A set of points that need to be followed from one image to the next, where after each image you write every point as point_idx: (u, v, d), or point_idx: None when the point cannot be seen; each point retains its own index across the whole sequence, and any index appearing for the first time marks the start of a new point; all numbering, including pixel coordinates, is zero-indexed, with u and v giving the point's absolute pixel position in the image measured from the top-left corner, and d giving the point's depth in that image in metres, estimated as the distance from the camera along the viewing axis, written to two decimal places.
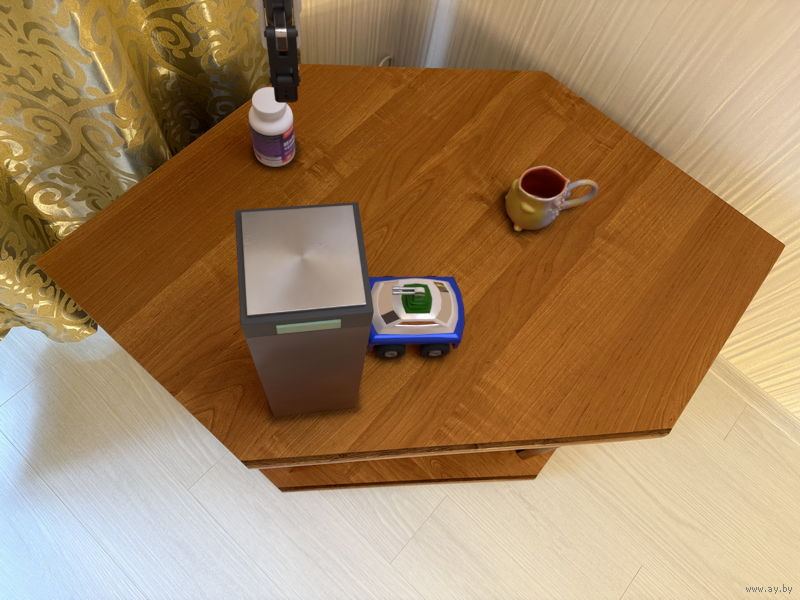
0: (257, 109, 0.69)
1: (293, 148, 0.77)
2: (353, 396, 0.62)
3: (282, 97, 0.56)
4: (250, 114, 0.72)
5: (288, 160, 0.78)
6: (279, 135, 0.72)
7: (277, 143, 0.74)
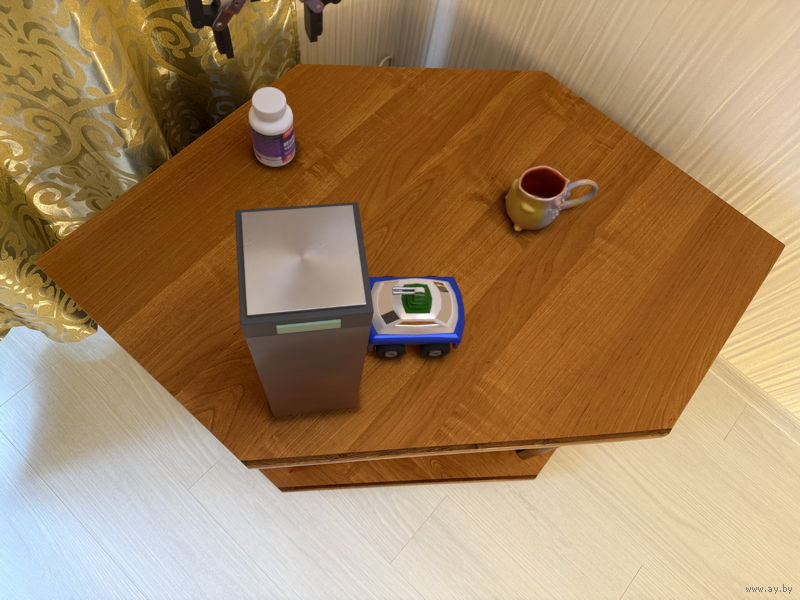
0: (257, 109, 0.69)
1: (293, 148, 0.77)
2: (353, 396, 0.62)
3: (215, 40, 0.58)
4: (250, 114, 0.72)
5: (288, 160, 0.78)
6: (279, 135, 0.72)
7: (277, 143, 0.74)
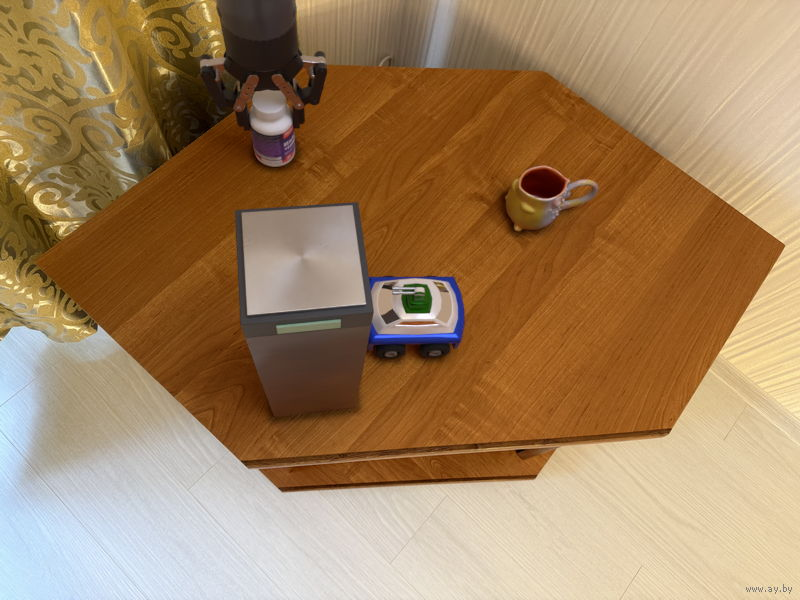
0: (257, 109, 0.69)
1: (293, 148, 0.77)
2: (353, 396, 0.62)
3: None
4: (250, 114, 0.72)
5: (288, 160, 0.78)
6: (279, 135, 0.72)
7: (277, 143, 0.74)
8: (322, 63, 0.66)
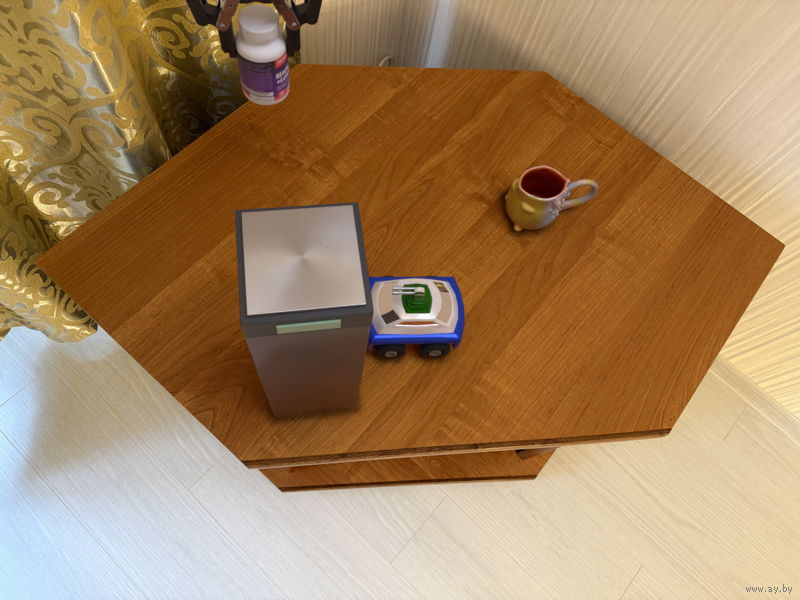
0: (244, 28, 0.59)
1: (287, 83, 0.67)
2: (353, 396, 0.62)
3: None
4: (236, 37, 0.61)
5: (281, 98, 0.67)
6: (270, 63, 0.62)
7: (268, 74, 0.63)
8: None
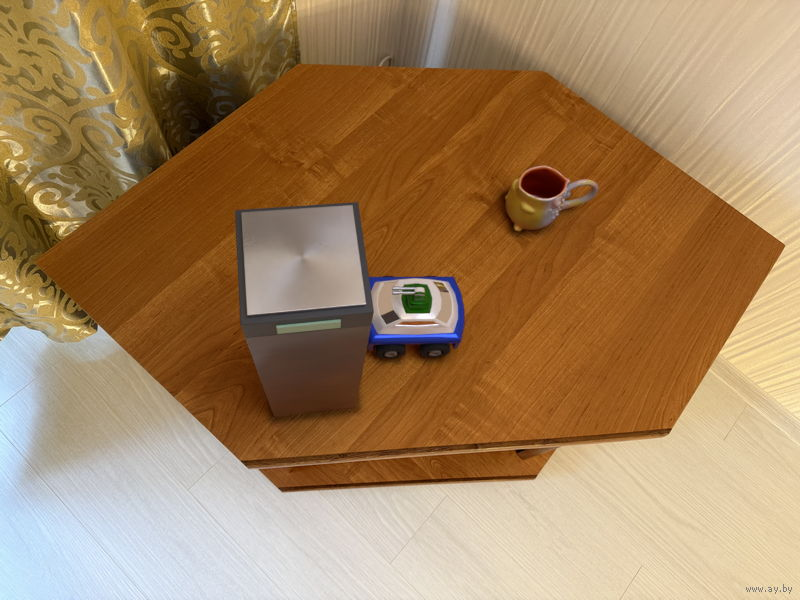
0: None
1: None
2: (353, 396, 0.62)
3: None
4: None
5: None
6: None
7: None
8: None
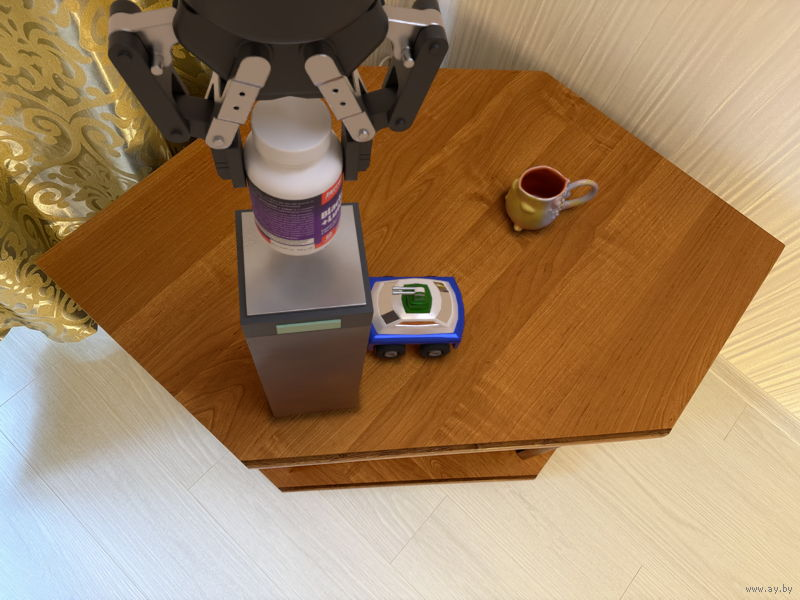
0: (263, 142, 0.29)
1: (338, 218, 0.36)
2: (353, 396, 0.62)
3: None
4: (247, 151, 0.31)
5: (327, 242, 0.37)
6: (313, 199, 0.32)
7: (308, 215, 0.33)
8: (437, 27, 0.25)
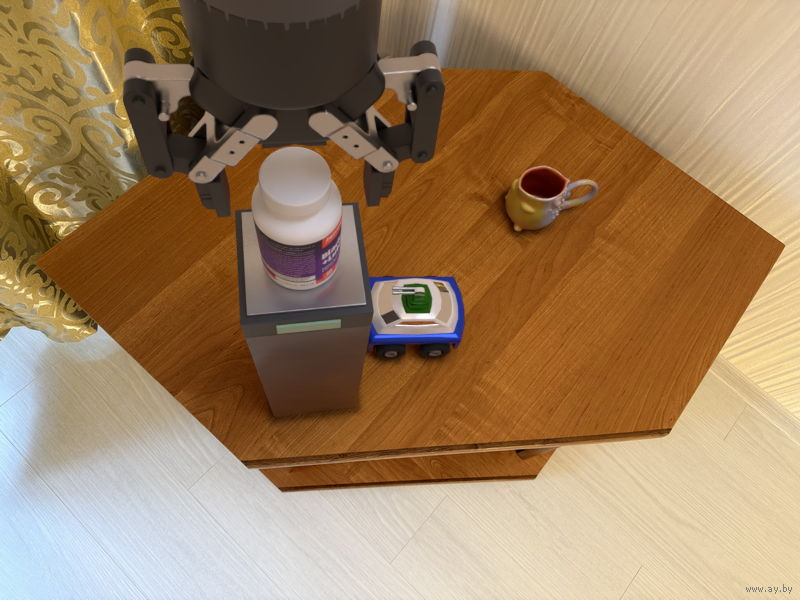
0: (269, 197, 0.32)
1: (337, 256, 0.40)
2: (353, 396, 0.62)
3: None
4: (255, 202, 0.35)
5: (327, 277, 0.40)
6: (315, 244, 0.35)
7: (310, 257, 0.36)
8: (431, 70, 0.26)
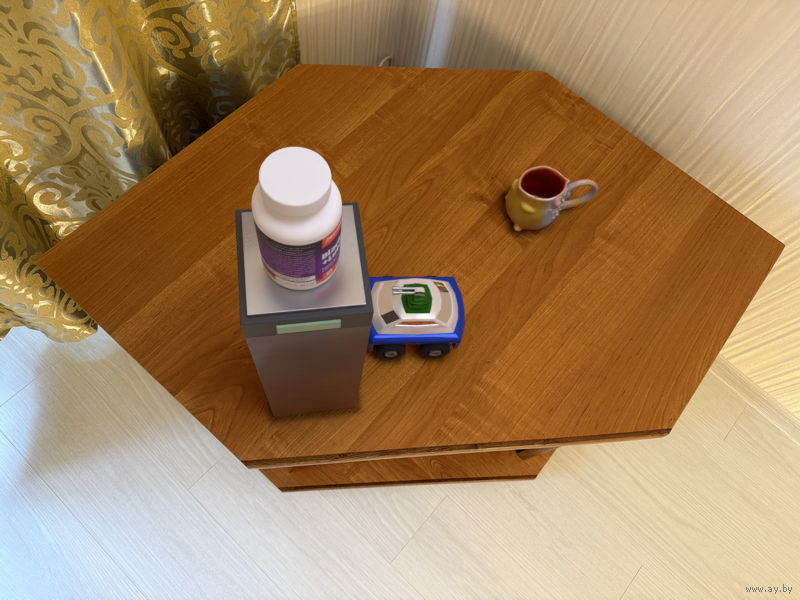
0: (269, 197, 0.32)
1: (337, 256, 0.40)
2: (353, 396, 0.62)
3: None
4: (255, 202, 0.35)
5: (327, 277, 0.40)
6: (315, 244, 0.35)
7: (310, 257, 0.36)
8: None
